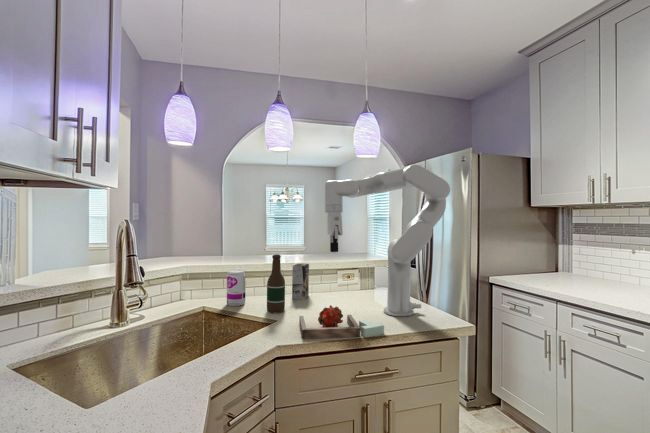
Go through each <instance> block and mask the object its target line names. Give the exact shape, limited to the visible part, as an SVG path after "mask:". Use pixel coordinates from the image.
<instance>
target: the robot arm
mask: <svg viewBox="0 0 650 433" xmlns="http://www.w3.org/2000/svg"><path fill="white" fill-rule="evenodd" d="M412 187H414V188H416V189H417V190H420V192H422V193H423V194H424V196H425V204H424V205H423V207H422V208H421V209H420V211H419V212H418V213H417V214H416V215H415V216H414V217H413V219H412V220H410V221H409V223H408V224H407V225H406V228H405V231H404V233H403V234H402V235H401V236H400V237H399V238H395V239H392V240H391V241H390V243H389V244H388V247H387V269H388V270H387V298H386V299H387V300H386V301H387V302H386V303H387V305H386V306H385V307H384V308H383V312H384V314H386V315H389V316H392V317H393V316H394V317H402V318H403V317H411V316H413V315H414V314H415V310H414V309H418V310H419V309H422V304H421V303H416V302H412V301H411V282H412V281H411V277H412V271H411V270H412V267H411V266H412V265H411V262H412V261H413V260H414V259H415V257H417V256H418V254H419V253H420V252H421V251H422V249H424V248H425V246H427V244H428V243H429V242H430V241H431V238H432V236H433V228H435V226H436V225H437V223H439V221H440V220H441V218H442V217H443V216H444V213H445V212H446V206H447V199H446V198H448V197H449V195H450V193H451V186H450V184H449V183H448V181H447V180H445V179H444V178H442V177H440V175H437V174H436V173H434V172H432V171H430V170H429V169H427V168H425V167H423V166H421V165H420V164H415V163H414V164H410V165H409V166H406V167H402V168H397V169H396V168H395V169H391V170H387V171H383V172H382V171H381V172H379V173H377V174H375V175H373V176H368V177H365V178H361V179H356V180H355V179H345V180H344V179H343V180H331V179H330V180H327V181H325V183H324V213H326V214H327V217H326V218H327V219H326V220H327V222H326V225H327V226H326V227H327V228H326V229H327V235H329V236H330V237H329V239H330V240H329V243H330V244H329V245H330V246H329V249H330V250H329V252H331V253H337V252H339V236H342V235H343V232H344V231H343V219H342V218H343V216H342V213H343V210H344V209H343V197H347V198H348V199H349V198H350V199H351V198H352V199H353V198H358V197H363V196H368V195H374V194H382V193H386V192H391V191H397V190H402V189H407V188H412Z"/></svg>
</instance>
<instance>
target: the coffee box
mask: <svg viewBox="0 0 650 433" xmlns="http://www.w3.org/2000/svg"><path fill="white" fill-rule="evenodd" d="M309 271H310V264H309V263H296V264H294V265H292V278H291V279H292V280H291V282H292V283H291V285H292V286H291V298H292V299H295V300H305V299H306V298H307V297H308V296H309V295H310V294H309V292H310V290H309V289H310V288H309V286H310V285H309V284H310V283H309V281H310V280H309V278H310V272H309Z"/></svg>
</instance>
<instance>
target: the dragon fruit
mask: <svg viewBox="0 0 650 433" xmlns="http://www.w3.org/2000/svg"><path fill="white" fill-rule="evenodd" d="M318 315H319V316H318V318H317V322H318V323H319V325H321V328H329V327H338V324H342V323H343V322H344V320H343V317H344V315H343V312H342V309H341V308H339V306H335V307H333V305H329V307H324V308H323V309H322V310H321V311H319V314H318Z"/></svg>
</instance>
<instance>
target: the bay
mask: <svg viewBox="0 0 650 433" xmlns="http://www.w3.org/2000/svg"><path fill="white" fill-rule="evenodd" d="M346 316H347V317H346V320H347V321H346V323H347V325H348V326H337V327H329V328H322V327H307V326H306V325H307V324H306V321H305V316H304V315H299V318H298V320H299V321H298V322H299V324H298V325H299V329H300V334H301V339H302V340H303V339H304V340H305V339H306V340H307V339H326V338H328V339H330V338H357V337H358V338H359V337H361V330H360V327H359V323H357V321H356V319H355V318H354V316H352V314H346Z"/></svg>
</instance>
